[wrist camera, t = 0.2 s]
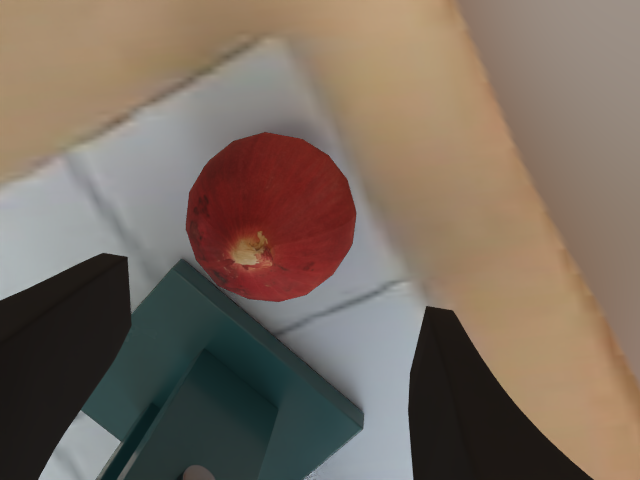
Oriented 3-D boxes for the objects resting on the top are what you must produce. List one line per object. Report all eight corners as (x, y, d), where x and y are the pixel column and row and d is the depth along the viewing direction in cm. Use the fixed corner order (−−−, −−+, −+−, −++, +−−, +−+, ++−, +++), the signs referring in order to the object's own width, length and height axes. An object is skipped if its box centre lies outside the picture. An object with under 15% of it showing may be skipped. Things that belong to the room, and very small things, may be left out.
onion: (279, 283, 25) (231, 385, 18) (192, 178, 24) (101, 241, 17) (388, 205, 23) (386, 283, 16) (299, 90, 22) (253, 115, 15)
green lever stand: (365, 413, 27) (351, 608, 18) (244, 515, 30) (177, 729, 20) (182, 257, 25) (62, 381, 16) (73, 380, 28) (-82, 546, 19)
